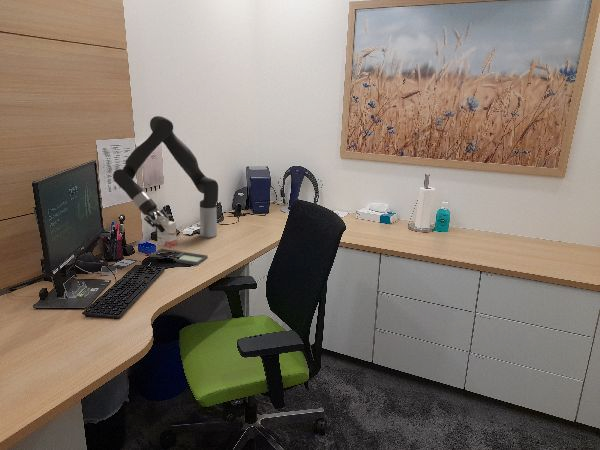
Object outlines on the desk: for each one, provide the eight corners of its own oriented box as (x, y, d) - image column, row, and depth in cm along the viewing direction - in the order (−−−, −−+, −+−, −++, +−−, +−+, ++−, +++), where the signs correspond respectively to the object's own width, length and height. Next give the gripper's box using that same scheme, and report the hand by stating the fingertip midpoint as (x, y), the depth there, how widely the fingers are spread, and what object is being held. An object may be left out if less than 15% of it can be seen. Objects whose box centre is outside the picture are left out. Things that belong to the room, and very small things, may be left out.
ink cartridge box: (177, 244, 214) (176, 216, 210) (170, 247, 210) (168, 218, 206) (164, 241, 218) (162, 213, 214) (157, 244, 214) (155, 215, 209)
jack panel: (162, 251, 222) (161, 248, 221) (207, 258, 215) (207, 255, 215) (150, 257, 212) (149, 254, 212) (197, 265, 206) (197, 262, 205)
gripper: (139, 201, 203) (163, 229, 204) (157, 195, 217) (179, 221, 217) (130, 211, 206) (154, 238, 207) (149, 204, 219) (171, 229, 220)
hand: (167, 229), depth 212 cm, fingers closed on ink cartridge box, 5 cm apart
